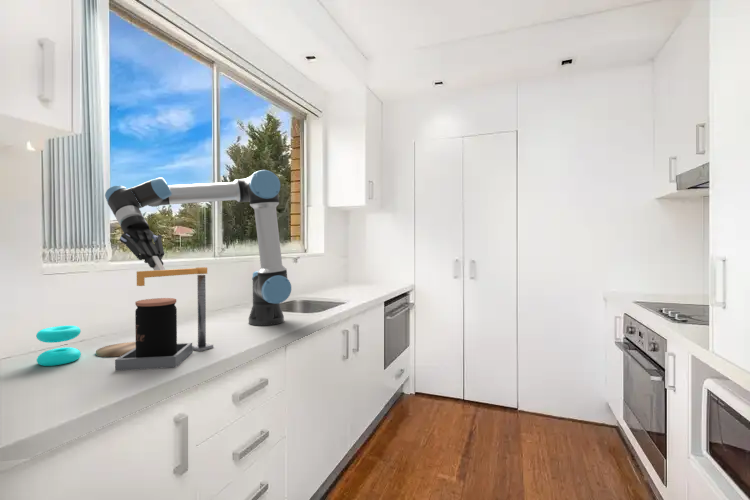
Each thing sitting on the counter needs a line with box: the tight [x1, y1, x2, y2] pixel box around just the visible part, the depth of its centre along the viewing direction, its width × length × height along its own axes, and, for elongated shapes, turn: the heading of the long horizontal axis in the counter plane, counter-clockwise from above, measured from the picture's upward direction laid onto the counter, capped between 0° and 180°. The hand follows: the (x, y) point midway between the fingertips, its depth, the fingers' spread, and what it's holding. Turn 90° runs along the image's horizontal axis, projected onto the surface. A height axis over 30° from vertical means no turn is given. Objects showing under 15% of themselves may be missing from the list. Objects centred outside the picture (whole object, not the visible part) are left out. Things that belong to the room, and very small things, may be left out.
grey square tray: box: [114, 342, 193, 372], centre depth 112 cm, size 15×15×3 cm
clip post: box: [192, 274, 214, 352], centre depth 125 cm, size 5×5×24 cm
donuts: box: [36, 325, 82, 367], centre depth 111 cm, size 10×10×10 cm
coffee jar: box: [134, 297, 178, 358], centre depth 112 cm, size 11×11×18 cm
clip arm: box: [136, 266, 208, 287], centre depth 116 cm, size 22×4×4 cm, turn 150°
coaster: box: [95, 341, 136, 358], centre depth 123 cm, size 15×15×1 cm
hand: (161, 273), depth 118 cm, fingers closed
